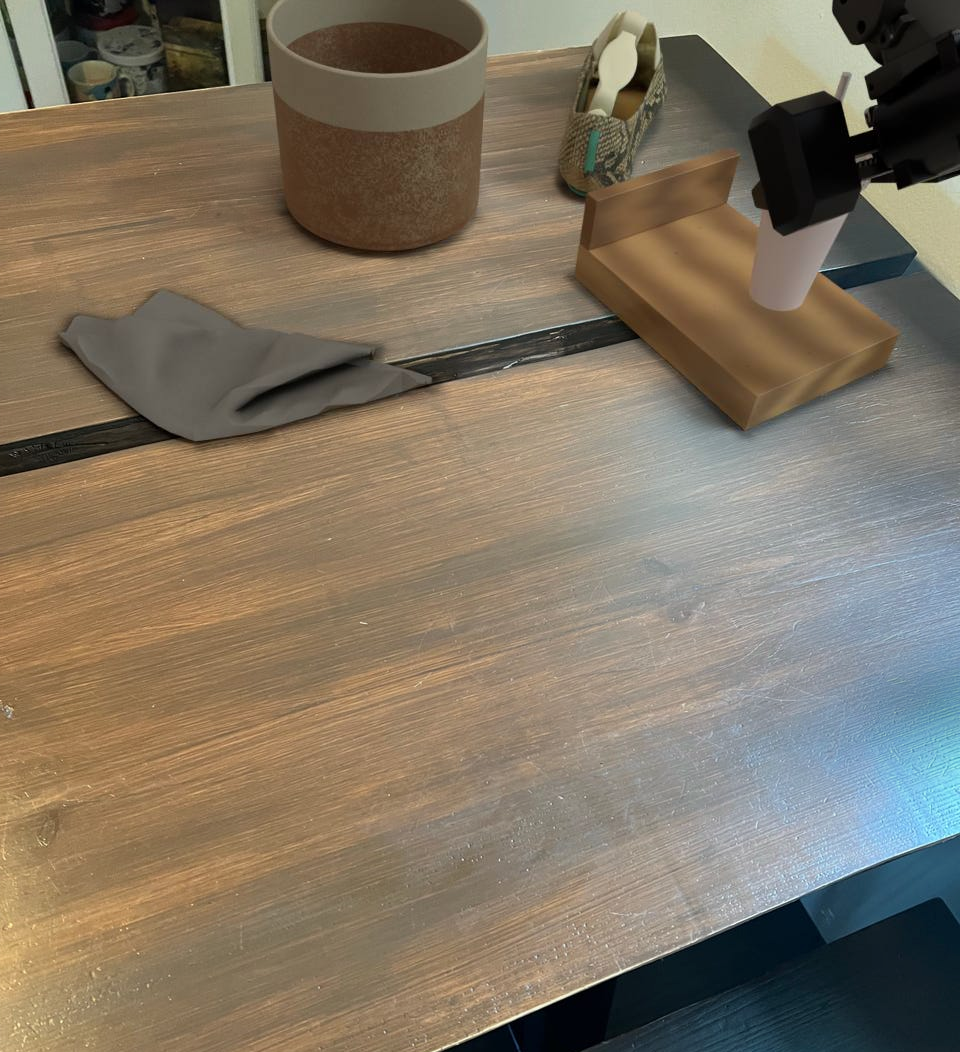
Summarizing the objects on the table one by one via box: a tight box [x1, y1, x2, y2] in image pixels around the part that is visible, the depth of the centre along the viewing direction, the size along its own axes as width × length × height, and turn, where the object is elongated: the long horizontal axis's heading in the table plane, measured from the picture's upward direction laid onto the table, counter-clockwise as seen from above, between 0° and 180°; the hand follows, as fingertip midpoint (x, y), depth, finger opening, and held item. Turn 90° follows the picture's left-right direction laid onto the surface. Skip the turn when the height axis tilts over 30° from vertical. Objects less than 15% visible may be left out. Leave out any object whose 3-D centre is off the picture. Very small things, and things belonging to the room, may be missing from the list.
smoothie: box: [749, 71, 873, 311], centre depth 62 cm, size 6×6×14 cm
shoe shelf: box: [573, 147, 901, 431], centre depth 73 cm, size 14×20×7 cm
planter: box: [265, 0, 489, 252], centre depth 77 cm, size 16×16×14 cm
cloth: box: [56, 289, 433, 442], centre depth 68 cm, size 26×14×2 cm, turn 71°
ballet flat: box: [557, 9, 668, 198], centre depth 87 cm, size 8×25×9 cm, turn 166°
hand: (794, 185), depth 62 cm, fingers closed on smoothie, 6 cm apart
